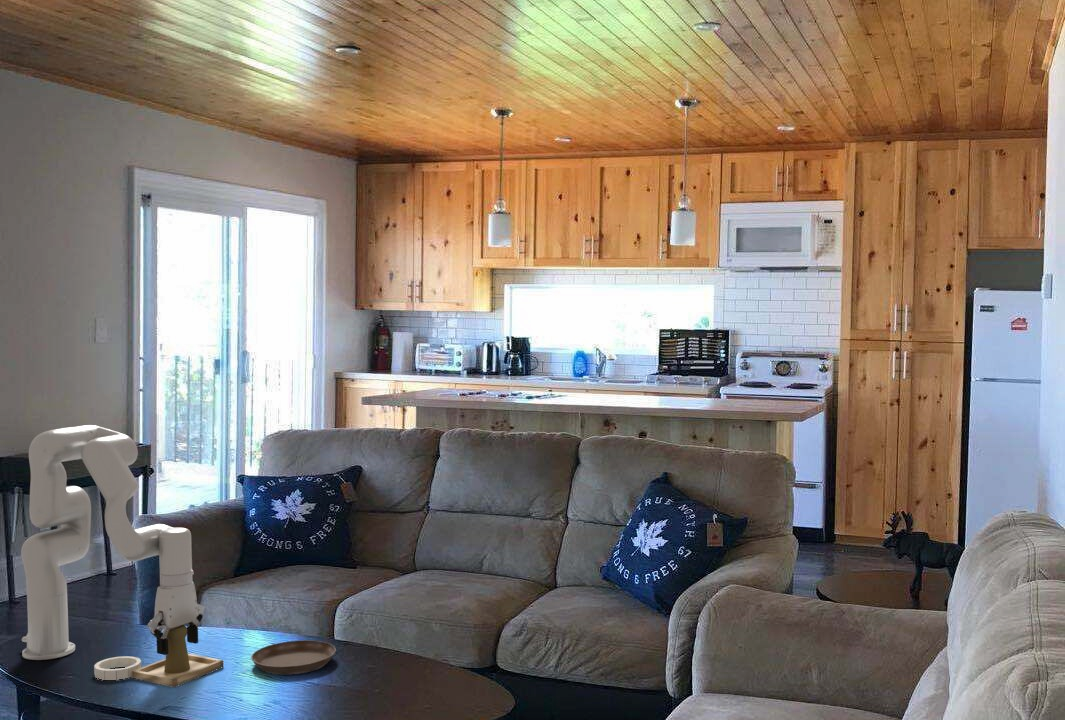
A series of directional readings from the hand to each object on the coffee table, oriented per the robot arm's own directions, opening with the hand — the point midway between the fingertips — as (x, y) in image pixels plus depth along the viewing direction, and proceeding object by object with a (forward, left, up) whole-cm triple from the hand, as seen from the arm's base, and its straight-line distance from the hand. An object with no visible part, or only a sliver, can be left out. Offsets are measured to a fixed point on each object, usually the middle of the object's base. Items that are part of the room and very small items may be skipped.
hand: (177, 648), depth 266 cm
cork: (0, 0, -6) cm, 6 cm away
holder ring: (-13, -7, -6) cm, 16 cm away
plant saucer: (+21, +18, -7) cm, 28 cm away
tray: (0, 0, -6) cm, 6 cm away
